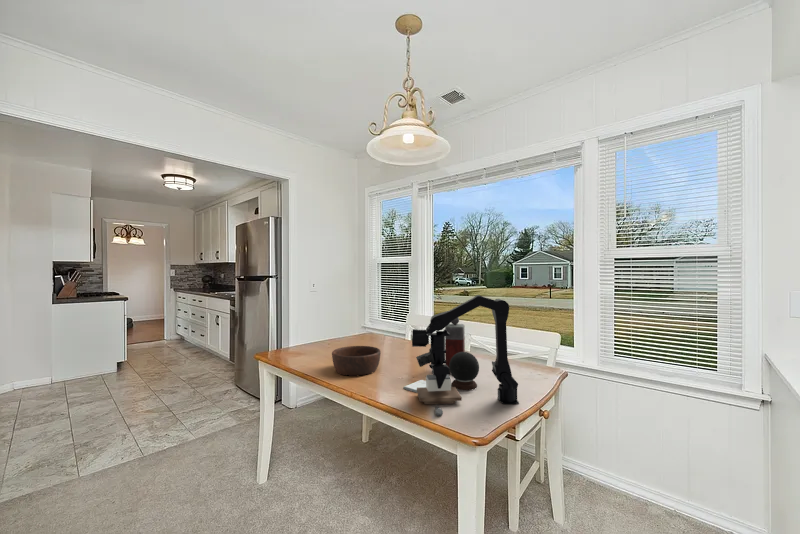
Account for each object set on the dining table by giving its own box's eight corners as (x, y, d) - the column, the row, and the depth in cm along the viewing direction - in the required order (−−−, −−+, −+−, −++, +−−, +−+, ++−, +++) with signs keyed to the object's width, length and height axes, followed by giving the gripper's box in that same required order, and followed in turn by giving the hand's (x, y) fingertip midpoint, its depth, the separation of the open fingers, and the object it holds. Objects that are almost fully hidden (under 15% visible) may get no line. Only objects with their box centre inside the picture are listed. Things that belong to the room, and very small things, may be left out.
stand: (455, 394, 144) (455, 386, 144) (461, 405, 132) (461, 397, 132) (416, 394, 143) (416, 387, 143) (419, 406, 131) (419, 398, 131)
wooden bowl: (390, 370, 179) (390, 350, 179) (352, 381, 161) (352, 359, 161) (359, 361, 197) (359, 343, 197) (322, 371, 178) (322, 351, 179)
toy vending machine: (465, 367, 182) (464, 314, 182) (463, 373, 171) (463, 317, 172) (448, 366, 184) (447, 314, 185) (445, 372, 174) (445, 316, 174)
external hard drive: (403, 390, 151) (420, 382, 160) (418, 394, 145) (435, 386, 155) (403, 386, 151) (420, 379, 160) (418, 390, 145) (435, 382, 155)
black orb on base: (452, 379, 162) (452, 347, 163) (481, 382, 158) (480, 349, 158) (446, 388, 150) (445, 354, 150) (477, 392, 145) (476, 356, 146)
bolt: (433, 409, 128) (433, 402, 128) (440, 409, 128) (440, 402, 128) (435, 416, 122) (435, 409, 122) (442, 416, 122) (442, 408, 122)
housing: (428, 391, 134) (428, 378, 135) (426, 387, 139) (426, 374, 140) (451, 390, 135) (450, 377, 135) (448, 386, 140) (447, 373, 140)
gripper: (415, 342, 147) (416, 379, 146) (419, 352, 128) (420, 395, 128) (441, 341, 147) (442, 378, 147) (449, 352, 128) (450, 394, 128)
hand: (438, 386), depth 137 cm, fingers closed on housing, 5 cm apart
